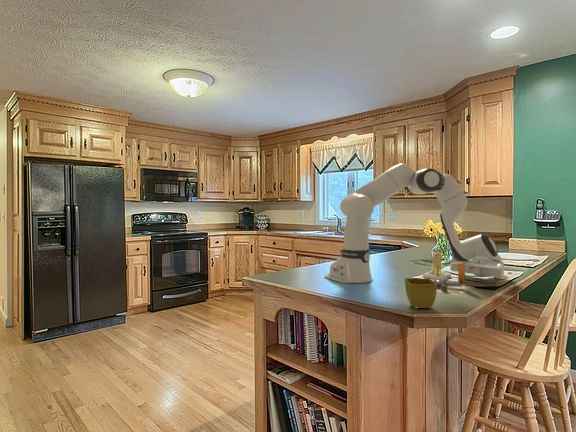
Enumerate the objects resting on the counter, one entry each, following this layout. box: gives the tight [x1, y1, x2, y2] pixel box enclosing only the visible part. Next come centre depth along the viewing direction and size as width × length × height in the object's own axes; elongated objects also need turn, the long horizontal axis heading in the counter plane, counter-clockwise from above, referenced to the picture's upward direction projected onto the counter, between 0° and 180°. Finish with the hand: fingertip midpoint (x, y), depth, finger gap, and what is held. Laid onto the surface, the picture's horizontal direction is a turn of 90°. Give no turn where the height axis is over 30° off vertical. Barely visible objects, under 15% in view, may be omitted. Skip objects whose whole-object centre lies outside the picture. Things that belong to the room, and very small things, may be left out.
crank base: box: [431, 279, 476, 296], centre depth 145 cm, size 18×17×3 cm
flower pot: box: [404, 277, 437, 309], centre depth 122 cm, size 9×9×9 cm
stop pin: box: [432, 252, 442, 276], centre depth 163 cm, size 4×4×11 cm
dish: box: [422, 270, 452, 281], centre depth 163 cm, size 9×9×2 cm
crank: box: [433, 262, 466, 287], centre depth 144 cm, size 12×5×9 cm, turn 68°
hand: (469, 271), depth 146 cm, fingers closed
